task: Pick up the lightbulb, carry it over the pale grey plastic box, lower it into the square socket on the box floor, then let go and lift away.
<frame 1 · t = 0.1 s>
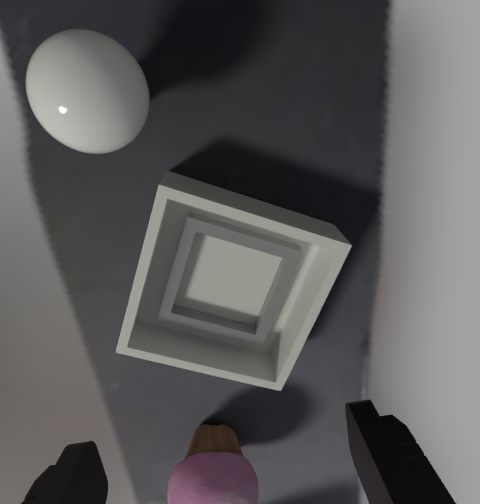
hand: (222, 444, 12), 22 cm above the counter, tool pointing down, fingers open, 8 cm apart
cupcake: (214, 433, 42), on the counter
walled box: (227, 273, 34), on the counter
lightbulb: (126, 95, 28), on the counter
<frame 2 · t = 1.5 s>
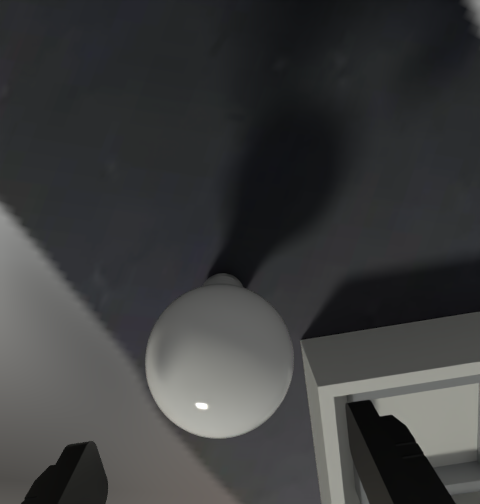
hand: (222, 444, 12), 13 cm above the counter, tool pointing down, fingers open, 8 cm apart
walled box: (414, 414, 27), on the counter
lightbulb: (223, 288, 24), on the counter
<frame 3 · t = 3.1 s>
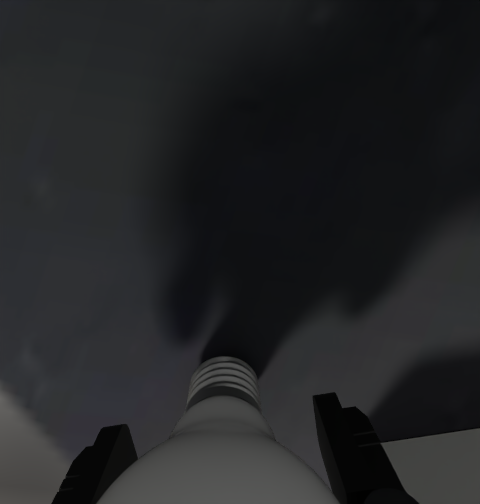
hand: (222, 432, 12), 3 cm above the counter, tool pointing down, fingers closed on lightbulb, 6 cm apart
lightbulb: (224, 373, 15), on the counter, touching gripper
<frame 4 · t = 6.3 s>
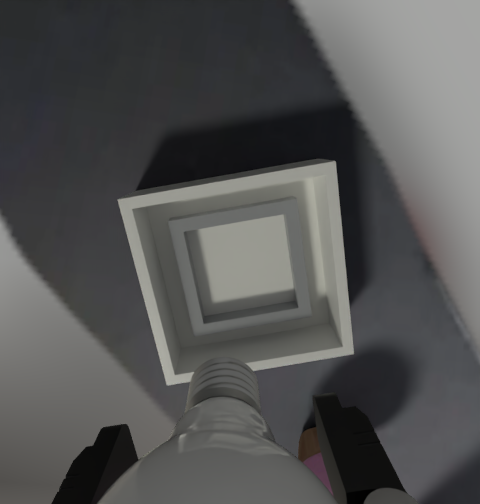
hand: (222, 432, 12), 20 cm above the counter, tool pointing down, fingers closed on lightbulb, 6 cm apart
cupcake: (322, 436, 37), on the counter
walled box: (241, 261, 32), on the counter
lightbulb: (224, 374, 15), point 17 cm above the counter, touching gripper
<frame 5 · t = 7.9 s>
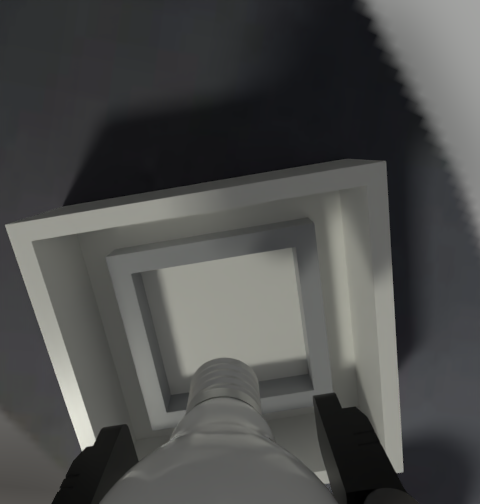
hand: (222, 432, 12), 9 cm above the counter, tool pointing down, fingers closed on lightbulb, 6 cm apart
walled box: (227, 313, 21), on the counter
lightbulb: (225, 374, 15), point 6 cm above the counter, touching gripper
when the fingers open (7 cm above the counter, at t = 9.4 s): lightbulb drops 2 cm, resting on walled box.
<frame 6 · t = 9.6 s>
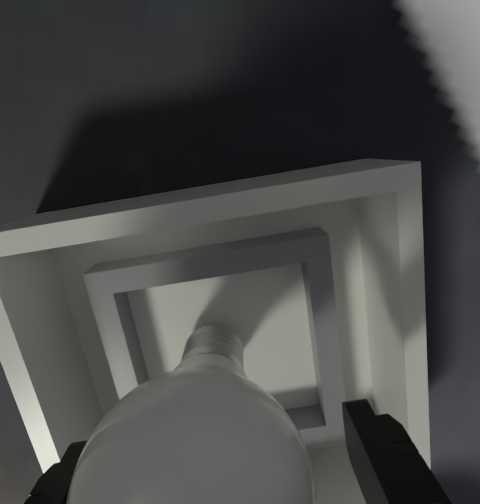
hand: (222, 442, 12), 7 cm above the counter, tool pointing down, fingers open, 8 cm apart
walled box: (226, 335, 18), on the counter
lightbulb: (215, 342, 18), point 1 cm above the counter, touching gripper, walled box
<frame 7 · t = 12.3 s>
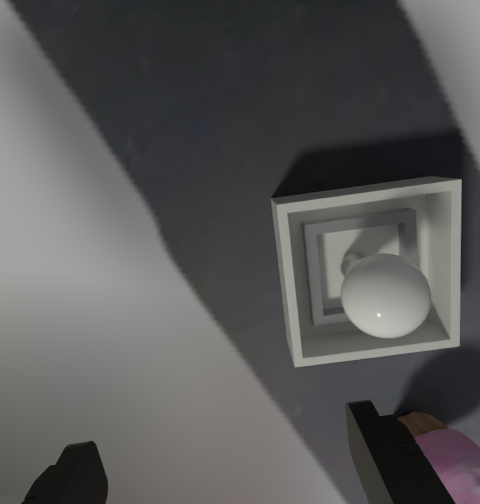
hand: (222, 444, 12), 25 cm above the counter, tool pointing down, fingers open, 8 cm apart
cupcake: (408, 425, 41), on the counter
walled box: (354, 263, 36), on the counter
lightbulb: (351, 264, 36), point 1 cm above the counter, touching walled box
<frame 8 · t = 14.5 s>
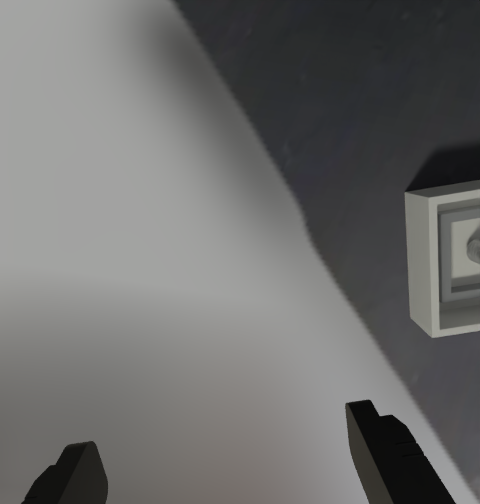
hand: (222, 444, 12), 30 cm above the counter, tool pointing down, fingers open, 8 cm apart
walled box: (473, 247, 42), on the counter
lightbulb: (473, 248, 41), point 1 cm above the counter, touching walled box
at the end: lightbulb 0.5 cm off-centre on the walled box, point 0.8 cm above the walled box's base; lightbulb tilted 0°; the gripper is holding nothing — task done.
